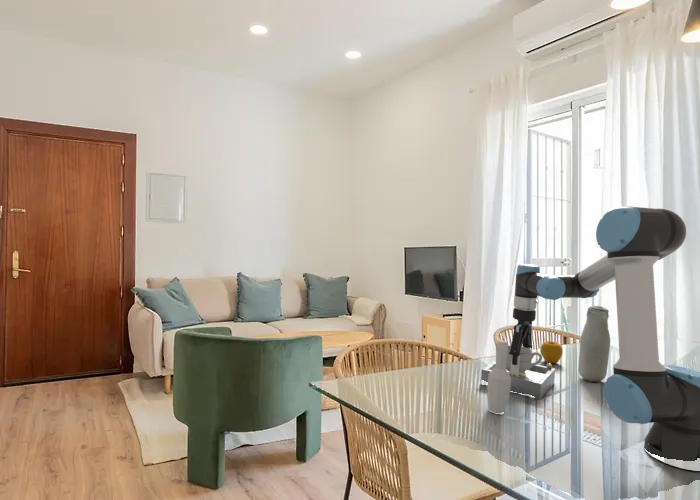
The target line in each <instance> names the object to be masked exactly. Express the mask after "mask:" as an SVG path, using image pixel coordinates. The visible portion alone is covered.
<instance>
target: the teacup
mask: <svg viewBox="0 0 700 500" xmlns="http://www.w3.org/2000/svg"><path fill="white" fill-rule="evenodd" d="M510 349H511V345H508V354H507V359H506V370H507V371H510V368H511V357H512V355H511V354H509V352H510ZM515 352H516V351H515ZM534 356H538V359H537V361H535V362H532V360H533V358H534ZM542 360H543V356H542V355H541V352H539V351H535V352H534V351H533V350H532V349H531V348H530V349H528V348H524V347H523V346H521V350H520V365H519V373H524V372H526V371H527V370H528V369H529V368H532V367H533V366H534V365H540V364H541V362H542Z"/></svg>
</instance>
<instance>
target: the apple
mask: <svg viewBox="0 0 700 500" xmlns="http://www.w3.org/2000/svg"><path fill="white" fill-rule="evenodd" d="M539 353H540V354H541V355H542V359H544V361H545V362H546V363H548V362H549V363H556V364H557V363H559V361H560V360H561V358H562V357H563V346H562V345H561V344H560V343H558V342H556V341H549V340H547V341H544V342H543V343H542V344H541V346H540V352H539Z"/></svg>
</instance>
